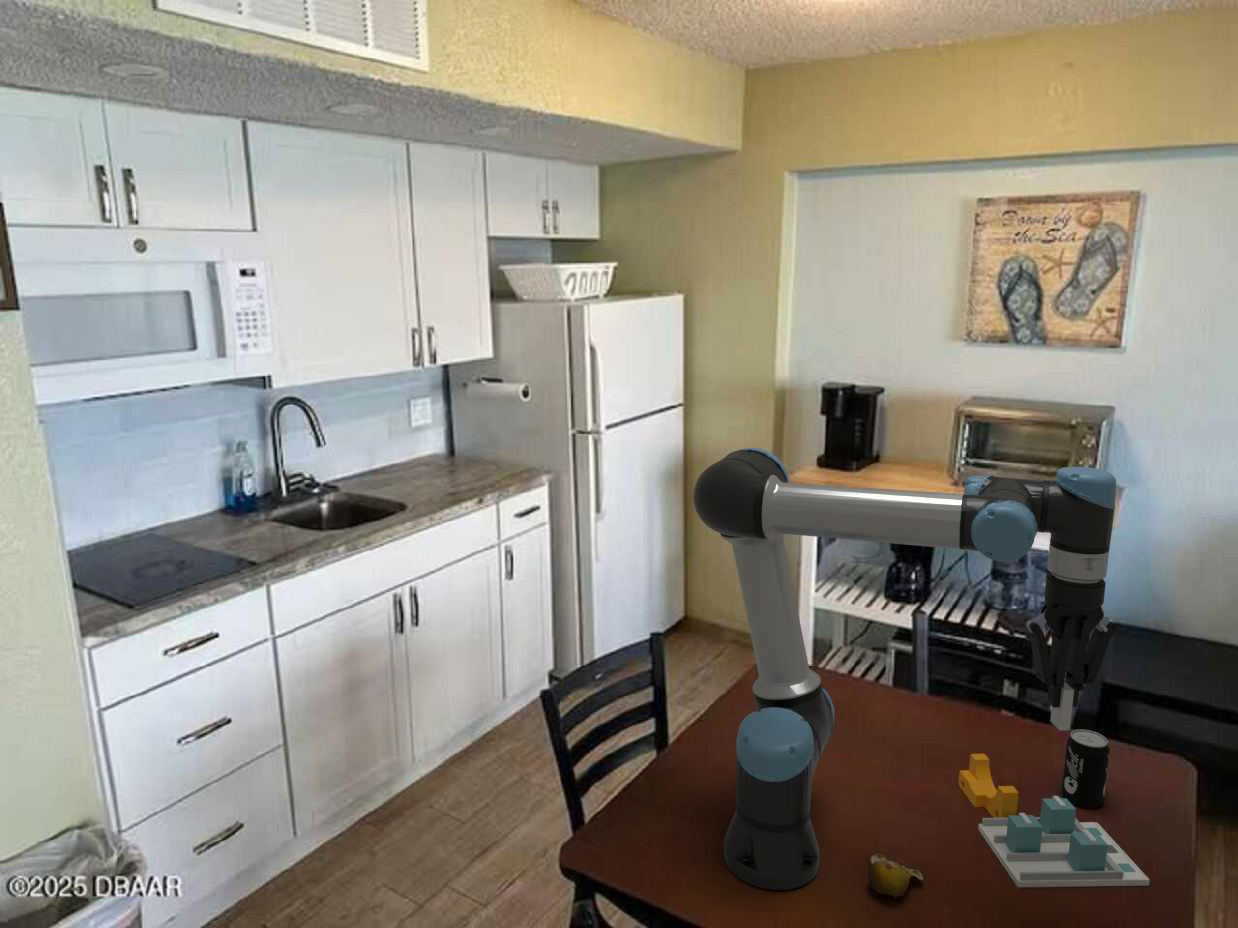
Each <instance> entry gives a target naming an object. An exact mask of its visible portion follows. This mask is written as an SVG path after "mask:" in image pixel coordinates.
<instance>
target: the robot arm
mask: <svg viewBox="0 0 1238 928" xmlns="http://www.w3.org/2000/svg"><path fill="white" fill-rule="evenodd" d="M695 482H696V483H695V485H694V490H693V504H694V509H695V511H696V514H697V515H698V517H699V518H700V520H701V521H702V522H703V524H705V526H707V527H708V528H709V529H711V530H713V531H714V532H716V533H719V534H720V536H721V538H722V539H723V540H725V541H726V542H728V543H729V544H730V545H731V546H732V549H733V550H732V551H733V556H734V560H735V565H736V569H737V575H738V580H739V584H740V589H741V595H742V600H743V604H744V609H745V610H744V611H745V614H746V618H747V623H748V629H749V633H750V639H751V643H752V649H753V652H754V657H755V663H756V667H757V671H758V677H757V679H756V680H755V682H754V683H753V685H752V692H753V695H754V701H755V702H754V703H755V708H756V711H753V712H751V713H749V714H748V715H747V716H746V717H745V718H744V719H742V721H741V723H740V725H739V728H738V731H737V737H736V741H735V744H736V745H735V752H736V753H735V754H736V776H735V777H736V780H735V781H736V783H735V785H736V786H735V811H734V813H733V815H732V819H731V820H730V823H729V825H728V828H727V831H726V832H725V833H726V834H725V837H724V840H723V857H724V861H725V863H726V866H727V867H728V868H729V870H730V872H731V873H733V874H734V875H735V876H736V877H737V878H739V879H740V880H741V881H744V883H747V884H750V885H752V886H755V887H757V888H761V889H765V890H766V889H767V890H774V891H785V890H787V891H788V890H792V889H796V888H800V887H802V886H804V885H806V884H808V883H810V881H812V880H813V879H815V877H816V875H817V874H818V873H819V867H820V855H821V854H820V847H819V843H818V840H817V836H816V834H815V830H814V827H813V824H812V821H811V799H812V797H811V796H812V795H811V794H812V782H813V777H814V773H815V770H816V768H817V765H818V764H819V761H820V759H821V756H822V753H823V751H824V748H825V747H826V744H827V743H828V741H829V740H830V738H831V736H832V733H833V730H834V724H835V707H834V704H833V701H832V699H831V697H830V695H829V693H828V692H827V690H825V688H823V685H822V679H821V677H820V674H818V673H817V672H815V671H814V670H812V669H811V668H810V666H809V660H808V656H807V650H806V645H805V640H804V636H803V635H804V634H803V631H802V624H801V621H800V616H799V610H798V605H797V600H796V596H795V590H794V585H793V581H792V580H793V579H792V576H791V571H790V565H789V560H788V555H787V550H786V545H785V541H784V540H785V539H784V534H785V535H793V536H794V535H795V536H805V537H806V536H807V537H817V538H828V539H838V540H839V539H840V540H851V541H863V542H872V543H882V544H883V543H884V544H885V543H886V544H895V545H896V544H897V545H906V546H907V545H909V546H919V547H931V548H940V549H941V548H943V549H954V550H966V551H972V552H974V551H975V552H979V553H980V554H982V555H983V556H984V557H986V558H988V559H990V560H992V561H996V562H1000V563H1004V562H1005V563H1009V562H1013V561H1016V560H1018V559H1021V558H1022V557H1024V556H1026V554H1028V552H1029V551H1030V550H1031V549H1032V547H1033V545H1034V542H1035V539H1036V535H1037V533H1044V534H1046V533H1047V534H1050V538H1049V546H1048V548H1049V549H1048V554H1047V555H1048V556H1047V566H1046V569H1047V570H1048V573H1046V576H1045V585H1044V587H1045V588H1044V604H1043V605H1042V608H1041V609H1040V614H1038V615H1037V616H1036V617H1033V618H1031V617H1026V618H1025V619H1024V620H1023V624H1024V626H1025V628H1026V630H1027V631H1028V634H1029V639H1030V646H1031V651H1032V657H1033V664H1034V669H1035V674H1036V677H1037V678H1038V679H1039V680H1040V681H1042V683H1044V684H1045V685H1047V686H1048V689H1047V690H1048V691H1047V703H1048V704H1049V705H1050V706H1051V712H1050V721H1049V722H1050V723H1051V724H1053V726H1054V727H1055V728H1057V729H1058V731H1071V723H1072V712H1073V708H1077V706H1078V705H1079V704H1078V703H1079V696H1080V692H1082V691H1084V690H1085V686H1084V685H1086V684H1088V685H1093V684H1094V683H1095V681H1096V678H1097V676H1098V673H1099V670H1100V668H1101V666H1102V663H1103V661H1104V660H1103V659H1104V657H1105V654H1106V652H1107V649H1108V646H1109V644H1110V641H1111V639H1112V638H1113V636H1114V635H1116V633H1117V631H1119V628H1120V626H1119V624H1118V623H1116V622H1115V621H1113V620H1112V619H1110V618H1109V617H1106V616H1105V613H1104V610H1103V608H1102V606H1103V605H1104V603H1105V595H1106V594H1105V593H1106V584H1107V582H1106V581H1105V578H1106V577H1107V572H1108V565H1109V557H1110V555H1109V554H1110V548H1111V540H1112V532H1113V526H1114V525H1113V524H1114V517H1115V511H1116V510H1115V509H1116V491H1117V479H1116V478H1115V476H1114V475H1113V474H1112V473H1111V472H1109V471H1107V470H1104V469H1100V468H1095V467H1090V466H1089V467H1087V466H1065V467H1064V466H1063V467H1061V468H1060V469H1058V470H1057V472H1056V475H1055V477H1054V480H1053V479H1052V480H1037V479H1030V478H1029V479H1026V478H1017V477H1016V478H1015V477H1014V478H1013V477H1003V476H995V475H992V474H989V475H970V476H968V477H967V478H966V480H965V482H964V489H963V493H952V492H937V491H923V490H906V489H891V488H876V487H875V488H874V487H862V486H861V487H859V486H843V485H829V484H828V485H826V484H812V483H798V482H797V483H795V482H789V474H788V470H787V469H786V466H785V465H784V463H783V462H782V461H781V460H780V458H779V457H777V456H776V455H775V454H773V453H772V452H770V451H768V450H766V449H762V448H758V447H747V448H742V449H739V450H734V451H732V452H730V453H728V454H726V456H724V458H721V459H720V460H718V461H716V462H714V463H712V464H711V465H710V466H708V467H707V468H705V469H704V470H703V471H702V472H701V474H700V475H699V476H698V478H697V480H696V481H695ZM1046 625H1047V626H1048V628H1049V629H1050V638H1051V644H1050V653H1049V650H1048V644H1047V639H1046V635H1045V632H1046V631H1047V630H1046ZM1091 632H1092V634H1091ZM1090 635H1091V636H1090ZM1065 680H1066V681H1065Z"/></svg>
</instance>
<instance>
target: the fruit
mask: <svg viewBox="0 0 1238 928" xmlns="http://www.w3.org/2000/svg"><path fill="white" fill-rule="evenodd" d="M870 863H871V866H870V869H869V870H868V877H867V878H868V881H869V882H868V883H869V886H870V888H871V890H872V891H873V892H876V893H879V894H886V895H888V896H892V897H893V898H898V897H902V896H904V895H905V892H906V891H907V890H908V887H909V885H910V879H911V878H912V877H916V878H917V879H918V880H919V882H923V881H924V876H923V875H922V873H921V872H920V871H919V870H918V869H916V868H915V869H913V868H910V869H909V868H907V867H905V866H904V865H902V866H901V865H900V864H899V863H897V862H894V861H892V860H890V859H889V860H888V859H886V857H885V855H882V854H881V853H880V854H878V853H876V854H874V855H871V856H870Z"/></svg>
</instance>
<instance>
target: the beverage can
mask: <svg viewBox="0 0 1238 928" xmlns="http://www.w3.org/2000/svg"><path fill="white" fill-rule="evenodd" d="M1108 744H1109V741H1108V739H1107V738H1106V737H1105V736H1104V735H1102V734H1101V733H1099V732H1096V731H1093V730H1090V729H1084V728H1083V729H1081V728H1080V729H1079V728H1078V729H1074V730H1072V731H1071V732H1070V736H1069V737H1068V738H1067V739H1066V746H1065V747H1066V748H1065V756H1064V765H1063V773H1062V783H1061V794H1062V795H1063V796H1064V797H1065V798H1066V799H1067V800H1068V801H1069V802H1070V803H1071V804H1072V805H1074V806H1076V807H1081V808H1083V809H1095V808H1097V807H1100V806H1101V805H1103V804H1104V801H1105V794H1106V784H1107V777H1108V770H1109V769H1108V768H1109V763H1110V762H1109V760H1110V753H1111V750H1110V749H1111V748H1110V747H1109V745H1108Z"/></svg>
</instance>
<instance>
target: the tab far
mask: <svg viewBox="0 0 1238 928" xmlns="http://www.w3.org/2000/svg"><path fill="white" fill-rule="evenodd" d="M1076 814H1077V809H1076V807H1075V805H1074V804H1073V803H1071V802H1069V801H1068V800H1067V799H1066V798H1063V797H1062V798H1060V796H1058V795H1052V798H1041V807H1040V816H1039V817H1040V824H1041V826H1042V827H1043V831H1044V832H1045V833H1046V834H1071V832H1074V824H1075V818H1076V817H1077V816H1076Z"/></svg>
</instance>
